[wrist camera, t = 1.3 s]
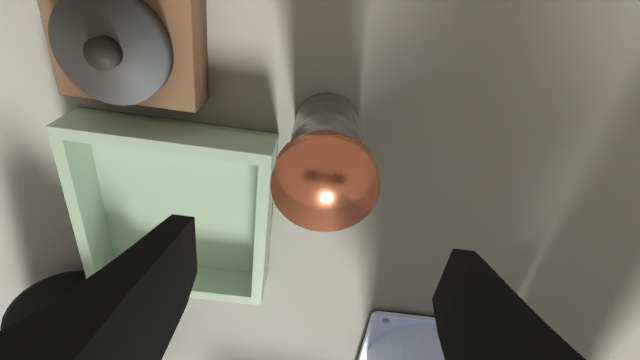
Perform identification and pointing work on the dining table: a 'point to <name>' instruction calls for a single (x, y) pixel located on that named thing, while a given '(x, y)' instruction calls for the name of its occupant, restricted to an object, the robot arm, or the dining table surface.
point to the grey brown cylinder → (325, 168)
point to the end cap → (40, 295)
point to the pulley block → (129, 51)
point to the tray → (169, 192)
